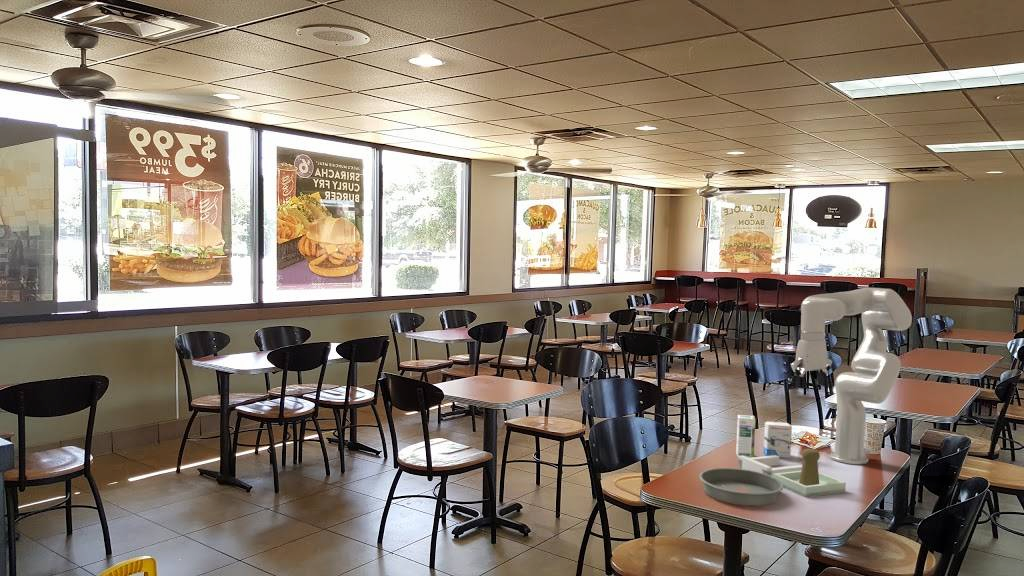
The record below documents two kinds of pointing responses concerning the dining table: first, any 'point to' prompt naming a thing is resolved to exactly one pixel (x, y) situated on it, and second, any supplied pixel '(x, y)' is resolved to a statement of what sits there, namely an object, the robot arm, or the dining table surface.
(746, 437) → the syrup box
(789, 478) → the tray
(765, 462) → the dock
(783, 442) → the ink box
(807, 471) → the cork
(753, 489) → the cake pan
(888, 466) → the dining table surface
